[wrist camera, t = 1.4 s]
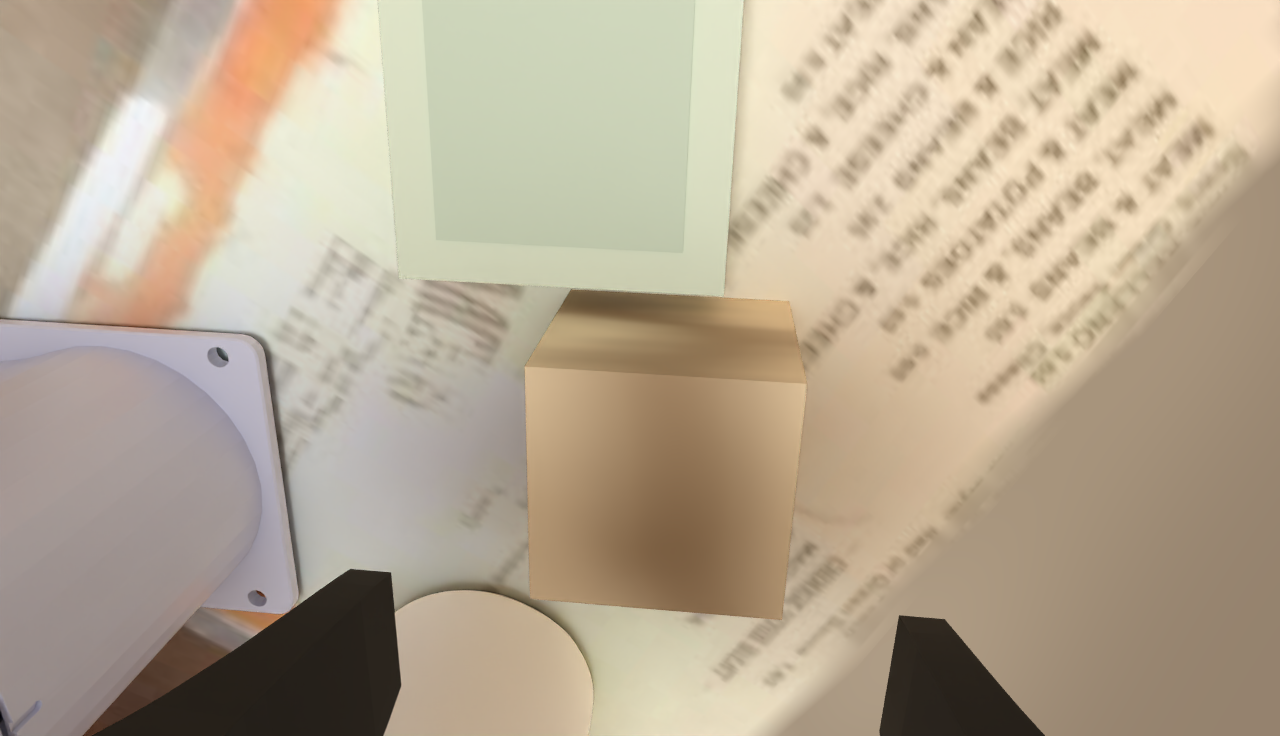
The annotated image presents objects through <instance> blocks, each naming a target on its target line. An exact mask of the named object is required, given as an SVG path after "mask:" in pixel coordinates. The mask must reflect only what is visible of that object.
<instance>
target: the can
mask: <svg viewBox="0 0 1280 736" xmlns="http://www.w3.org/2000/svg"><path fill="white" fill-rule="evenodd" d="M395 622H396V632H397V643H398V654H399V665H400V676H401V688H400V691H399V694H398V697H397V700H396V702H395V705H394V708H393V711H392V714H391V717H390V720H389V722H388V725H387V728H386V730H385V733H384V736H588V735H589V729H590V724H591V718H592V711H593V701H594V691H593V683H592V678H591V674H590V671H589V668H588V666H587V663H586V661H585V659H584V657H583V655H582V654H581V652H580V650H579V649H578V647H577V645H576V644H575V642H574V641H573V640H572V638H571V637H570V636H569V635H568V634H567V633H566V632H565V631H564V630H563V629H562V628H561V627H560V626H559V625H558V624H556V623H555V622H554V621H552V620H551V619H550V618H549V617H547V616H546V615H544V614H543V613H541V612H539V611H538V610H536V609H534V608H532V607H530V606H528V605H526V604H524V603H522V602H520V601H517V600H515V599H512V598H510V597H507V596H504V595H500V594H496V593H492V592H485V591H474V590H456V591H446V592H440V593H435V594H431V595H428V596H425V597H422V598H419V599H417V600H414V601H412V602H410V603H409V604H407V605H405V606H403V607H402V608H400V609H399V610H398V611H396V612H395Z"/></svg>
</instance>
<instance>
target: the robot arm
mask: <svg viewBox="0 0 1280 736" xmlns="http://www.w3.org/2000/svg"><path fill="white" fill-rule="evenodd" d="M217 347H218V348H222V349H223V350H224V351H225V352H226V353H227V355H228V358H229V359H228V361H224V360H222V359H221V358H220V357H219V356H218V354H217V351H216V349H217ZM256 590H257V591H260V592H262V593H263V594H264V595H265V597H266V598H265V597H262V596H260V595H259V594H258V593H257V592H256ZM298 596H299V592H298V585H297V578H296V571H295V564H294V557H293V550H292V543H291V535H290V528H289V521H288V514H287V507H286V500H285V493H284V486H283V479H282V472H281V465H280V457H279V450H278V443H277V436H276V429H275V422H274V415H273V408H272V401H271V394H270V387H269V379H268V372H267V365H266V358H265V353H264V350H263V347H262V346H261V345H260V344H259V342H258V341H257V340H255V339H254V338H252V337H251V336H248V335H244V334H232V333H216V332H200V331H183V330H167V329H151V328H135V327H119V326H103V325H87V324H71V323H54V322H38V321H22V320H6V319H0V736H83V735H84V733H85V732H86V731H87V730H88V729H89V728H90V727H91V726H92V725H93V724H94V723H95V721H96V720H97V719H98V718H99V717H100V716H101V715H102V714H103V713H104V712H105V710H106V709H107V708H108V707H109V706H110V705H111V704H112V703H113V702H114V701H115V700H116V698H117V697H118V696H119V695H120V694H121V693H122V692H123V691H124V690H125V689H126V687H127V686H128V685H129V684H130V683H131V682H132V681H133V680H134V679H135V678H136V676H137V675H138V674H139V673H140V672H141V671H142V670H143V669H144V668H145V667H146V666H147V664H148V663H149V662H150V661H151V660H152V659H153V658H154V657H155V656H156V655H157V653H158V652H159V651H160V650H161V649H162V648H163V647H164V646H165V645H166V644H167V643H168V641H169V640H170V639H171V638H172V637H173V636H174V635H175V634H176V633H177V632H178V630H179V629H180V628H181V627H182V626H183V625H184V624H185V623H186V622H187V621H188V620H189V618H190V617H191V616H192V615H193V614H194V613H195V612H196V611H197V610H198V609H199V607H204V608H216V609H227V610H238V611H250V612H261V613H272V614H284V613H287V612H288V611H290V610H291V609H292V607H293V606H294V605H295V603H296V602H297V600H298ZM400 688H401V676H400V665H399V654H398V643H397V632H396V622H395V611H394V600H393V589H392V579H391V573H390V572H378V571H366V570H354V569H350V570H348V571H347V572H345V573H344V574H342V575H341V576H339V577H338V578H336V579H335V580H333V581H332V582H330V583H329V584H327V585H326V586H325V587H323V588H322V589H320V590H319V591H318V592H316V593H315V594H313V595H312V596H311V597H309V598H308V599H306V600H305V601H304V602H302V603H301V604H299V605H298V606H297V607H295V608H294V609H292V610H291V611H290V612H288V613H287V614H285V615H284V616H283V617H281V618H280V619H278V620H277V621H275V622H274V623H273V624H271V625H270V626H268V627H267V628H265V629H264V630H263V631H261V632H260V633H258V634H257V635H255V636H254V637H253V638H251V639H250V640H248V641H247V642H245V643H244V644H243V645H241V646H240V647H238V648H237V649H235V650H234V651H232V652H231V653H229V654H228V655H226V656H225V657H223V658H222V659H220V660H218V661H217V662H215V663H214V664H212V665H211V666H209V667H207V668H206V669H204V670H203V671H201V672H200V673H198V674H197V675H195V676H193V677H192V678H190V679H189V680H187V681H186V682H184V683H182V684H181V685H179V686H178V687H176V688H175V689H173V690H172V691H170V692H168V693H167V694H165V695H164V696H162V697H160V698H159V699H157V700H155V701H153V702H152V703H150V704H148V705H147V706H145V707H143V708H141V709H140V710H138V711H136V712H134V713H133V714H131V715H129V716H127V717H126V718H124V719H122V720H120V721H118V722H116V723H115V724H113V725H111V726H109V727H107V728H105V729H103V730H102V731H100V732H98V733H96V734H94V735H92V736H384V733H385V730H386V728H387V725H388V722H389V720H390V717H391V714H392V711H393V708H394V705H395V702H396V700H397V697H398V694H399V691H400ZM880 736H1045V735H1044V734H1043V733H1042V732H1041V731H1040V730H1039V729H1038V728H1037V727H1036V725H1035V724H1034V723H1033V722H1032V721H1031V720H1030V719H1029V718H1028V717H1027V715H1026V714H1025V713H1024V712H1023V711H1022V710H1021V709H1020V708H1019V706H1018V705H1017V704H1016V703H1015V702H1014V701H1013V700H1012V698H1011V697H1010V696H1009V695H1008V694H1007V693H1006V692H1005V690H1004V689H1003V688H1002V687H1001V686H1000V684H999V683H998V682H997V681H996V680H995V679H994V677H993V676H992V675H991V674H990V673H989V672H988V670H987V669H986V668H985V667H984V666H983V664H982V663H981V662H980V661H979V660H978V658H977V657H976V656H975V655H974V654H973V652H972V651H971V650H970V649H969V648H968V646H967V645H966V644H965V643H964V642H963V640H962V639H961V638H960V637H959V636H958V635H957V633H956V632H955V631H954V630H953V629H952V627H951V626H950V625H949V624H948V623H947V622H946V620H945V619H935V618H923V617H910V616H900V615H899V619H898V625H897V631H896V637H895V643H894V649H893V655H892V661H891V667H890V672H889V678H888V685H887V690H886V696H885V702H884V708H883V714H882V719H881V726H880Z"/></svg>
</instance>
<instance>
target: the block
mask: <svg viewBox="0 0 1280 736" xmlns="http://www.w3.org/2000/svg"><path fill="white" fill-rule="evenodd" d="M806 390H807V381H806V376H805V372H804V367H803V363H802V358H801V354H800V349H799V345H798V340H797V335H796V331H795V326H794V322H793V317H792V313H791V308H790V304H789V301H774V300H755V299H737V298H719V297H700V296H682V295H664V294H645V293H627V292H609V291H591V290H572V289H571V291H570V292H569V294H568V296H567V297H566V299H565V300H564V302H563V304H562V305H561V307H560V309H559V310H558V312H557V314H556V315H555V317H554V319H553V320H552V322H551V324H550V325H549V327H548V329H547V330H546V332H545V334H544V335H543V337H542V339H541V340H540V342H539V344H538V345H537V347H536V349H535V350H534V352H533V353H532V355H531V357H530V358H529V360H528V362H527V363H526V365H525V405H526V449H527V492H528V536H529V579H530V599H537V600H549V601H561V602H573V603H585V604H597V605H609V606H621V607H633V608H645V609H657V610H669V611H682V612H694V613H706V614H718V615H730V616H742V617H754V618H766V619H778V620H782V614H783V604H784V595H785V586H786V576H787V567H788V558H789V548H790V539H791V530H792V520H793V511H794V502H795V493H796V483H797V474H798V465H799V455H800V446H801V437H802V427H803V418H804V409H805V399H806Z"/></svg>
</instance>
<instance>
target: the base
mask: <svg viewBox="0 0 1280 736" xmlns="http://www.w3.org/2000/svg"><path fill="white" fill-rule="evenodd" d="M377 1H378V14H379V27H380V40H381V53H382V66H383V79H384V92H385V105H386V118H387V131H388V144H389V157H390V170H391V183H392V196H393V209H394V222H395V235H396V248H397V261H398V274H399V278H403V279H420V280H438V281H456V282H474V283H492V284H510V285H528V286H546V287H564V288H582V289H600V290H618V291H635V292H653V293H671V294H689V295H707V296H724V287H725V272H726V257H727V242H728V227H729V213H730V198H731V183H732V168H733V153H734V139H735V124H736V109H737V94H738V80H739V65H740V50H741V35H742V20H743V6H744V0H377Z"/></svg>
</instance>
